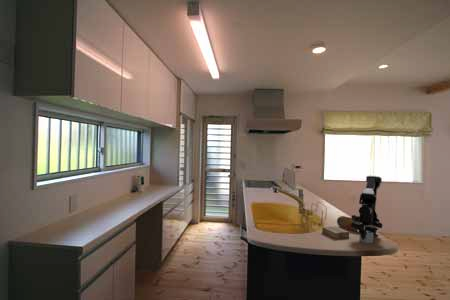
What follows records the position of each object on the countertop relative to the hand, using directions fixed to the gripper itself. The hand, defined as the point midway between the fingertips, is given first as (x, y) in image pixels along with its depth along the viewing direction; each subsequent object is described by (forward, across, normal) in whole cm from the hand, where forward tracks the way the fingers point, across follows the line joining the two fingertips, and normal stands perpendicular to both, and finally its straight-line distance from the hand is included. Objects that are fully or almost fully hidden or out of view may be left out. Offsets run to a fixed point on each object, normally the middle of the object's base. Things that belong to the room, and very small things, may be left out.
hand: (366, 239), depth 141 cm
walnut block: (+2, +11, -13) cm, 17 cm away
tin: (+2, -8, -21) cm, 23 cm away
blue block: (+1, 0, 0) cm, 1 cm away
